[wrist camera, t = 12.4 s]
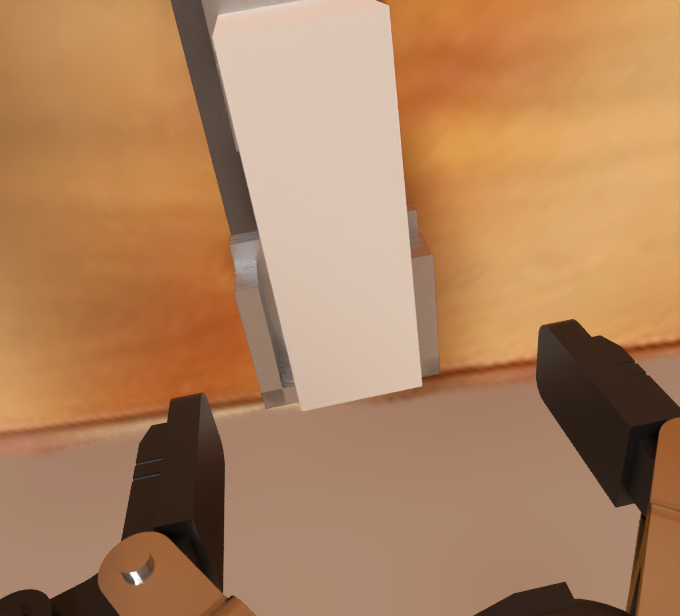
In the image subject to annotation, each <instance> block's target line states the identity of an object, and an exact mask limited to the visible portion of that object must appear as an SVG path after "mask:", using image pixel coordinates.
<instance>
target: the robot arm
mask: <svg viewBox="0 0 680 616" xmlns="http://www.w3.org/2000/svg"><path fill="white" fill-rule="evenodd" d="M536 381H537V387H538V390H539V393H540V395H541V398H542V400H543V401H544V403H545V404H546V406H547V407H548V409H549V410H550V412H551V413H552V415H553V416H554V418H555V419H556V421H557V422H558V424H559V425H560V426H561V428H562V429H563V431H564V432H565V434H566V435H567V437H568V438H569V440H570V441H571V443H572V444H573V446H574V447H575V448H576V450H577V451H578V453H579V454H580V456H581V457H582V459H583V460H584V462H585V463H586V464H587V466H588V468H589V469H590V471H591V472H592V473H593V475H594V476H595V478H596V479H597V481H598V482H599V484H600V485H601V487H602V488H603V490H604V491H605V493H606V494H607V496H608V497H609V498H610V500H611V501H612V503H613V504H614V506H615V507H620V506H625V505H629V504H633V503H635V504H636V505H637V507H638V508H639V510H640V511H641V516H640V520H639V527H638V534H637V541H636V547H635V555H634V561H633V569H632V576H631V583H630V589H629V596H628V601H627V607H626V612H625V611H623V610H621V609H618V608H616V607H613V606H610V605H607V604H604V603H600V602H596V601H590V600H584V599H574V598H573V596H572V594H571V592H570V590H569V588H568V586H567V584H566V582H562V583H558V584H553V585H549V586H545V587H540V588H536V589H531V590H527V591H523V592H518V593H514V594H512V595H510V596H509V597H507V598H505V599H503V600H501V601H499V602H498V603H496V604H494V605H492V606H490V607H488V608H487V609H485V610H483V611H481V612H479V613H478V614H476V615H474V616H680V407H679V406H678V405H677V404H676V403H675V402H674V401H673V400H672V399H671V398H670V397H669V396H668V395H667V394H666V393H665V392H664V391H663V390H662V389H661V388H660V386H658V384H657V383H656V382H655V381H654V380H653V379H652V378H651V377H650V376H647V375H646V372H645V371H644V370H643V369H642V368H641V367H640V366H639V365H638V364H635V361H634V360H633V358H632V357H631V356H630V355H629V354H628V353H627V352H626V351H625V350H624V349H623V348H622V347H621V346H619V345H617V344H615V343H614V342H612V341H610V340H608V339H606V338H604V337H602V336H595V337H591V336H590V335H589V334H588V333H587V332H586V330H585V329H584V328H583V327H582V326H581V325H580V324H579V323H578V322H577V321H576V320H574V319H571V320H566V321H561V322H556V323H551V324H546V325H542V326H541V327H540V330H539V337H538V352H537V368H536ZM133 480H134V481H133V482H132V486H131V491H130V497H129V502H128V507H127V513H126V518H125V524H124V529H123V534H122V539H121V542H120V543H118V544H117V545H116V546H115V547H114V548H113V549H112V550H111V551H110V552H109V553H108V554H107V556H106V557H105V558H104V560H103V562H102V564H101V566H100V569H99V572H98V573H97V574H96V575H94V576H93V577H91V578H90V579H88V580H86V581H85V582H83V583H81V584H79V585H77V586H75V587H73V588H71V589H69V590H67V591H65V592H63V593H62V594H59V595H57V596H55V597H54V598H51V599H49V598H48V597H47V595H46V594H44V593H43V592H41V591H38V590H33V589H29V590H28V589H27V590H21V591H17V592H14V593H12V594H9V595H8V596H5V597H4V598H2V599H0V616H256V615H255V614H254V613H253V612H252V611H251V610H250V609H249V608H248V607H247V606H246V605H245V604H244V603H243V602H242V601H241V600H240V599H238V598H237V597H235V596H231V597H230V598H227V597H226V596H224V594H223V558H224V488H225V461H224V453H223V448H222V443H221V439H220V436H219V433H218V430H217V427H216V424H215V421H214V418H213V415H212V412H211V409H210V406H209V403H208V400H207V397H206V395H205V394H204V393H198V394H193V395H188V396H183V397H178V398H173V399H171V401H170V405H169V413H168V420H167V423H162V424H157V425H152V426H151V427H150V429H149V430H148V432H147V433H146V435H145V436H144V437H143V439H142V440H141V442H140V443H139V448H138V453H137V459H136V466H135V470H134V475H133Z"/></svg>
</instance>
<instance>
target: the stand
mask: <svg viewBox="0 0 680 616" xmlns="http://www.w3.org/2000/svg"><path fill="white" fill-rule="evenodd" d="M295 1H301V0H171V3H172V7H173V11H174V15H175V19H176V23H177V27H178V30H179V34H180V38H181V42H182V46H183V50H184V54H185V58H186V62H187V65H188V69H189V73H190V77H191V81H192V85H193V89H194V93H195V96H196V100H197V104H198V108H199V112H200V116H201V120H202V124H203V127H204V131H205V135H206V139H207V143H208V147H209V151H210V155H211V158H212V162H213V166H214V170H215V174H216V178H217V182H218V186H219V189H220V193H221V197H222V201H223V205H224V209H225V213H226V217H227V220H228V224H229V228H230V232H231V236H229V246H230V250H231V254H232V258H233V261H234V294H235V297H236V301H237V305H238V309H239V312H240V316H241V320H242V323H243V327H244V331H245V334H246V338H247V342H248V345H249V349H250V353H251V357H252V360H253V364H254V368H255V371H256V375H257V379H258V382H259V386H260V390H261V393H262V397H263V401H264V405H265V408H266V409H267V408H272V407H277V406H282V405H287V404H292V403H297V402H299V398H298V394H297V390H296V386H295V382H294V378H293V373H292V369H291V365H290V361H289V357H288V352H287V348H286V344H285V340H284V336H283V332H282V327H281V323H280V319H279V315H278V311H277V306H276V302H275V298H274V294H273V290H272V285H271V281H270V277H269V273H268V269H267V265H266V260H265V256H264V252H263V248H262V244H261V239H260V235H259V231H258V227H257V223H256V219H255V214H254V210H253V206H252V202H251V198H250V193H249V189H248V185H247V181H246V177H245V172H244V168H243V164H242V160H241V156H240V152H239V147H238V143H237V139H236V135H235V131H234V126H233V122H232V118H231V114H230V110H229V106H228V101H227V97H226V93H225V89H224V85H223V80H222V76H221V72H220V68H219V64H218V59H217V55H216V51H215V47H214V43H213V39H212V36H213V32H214V28H215V25H216V21H217V17H218V15H221V14H227V13H232V12H238V11H244V10H249V9H255V8H261V7H266V6H272V5H278V4H284V3H289V2H295ZM376 1H378V0H376ZM406 206H407V217H408V229H409V240H410V251H411V263H412V274H413V286H414V297H415V308H416V320H417V331H418V343H419V354H420V366H421V377H425V376H430V375H435V374H440V365H439V347H438V329H437V311H436V293H435V274H434V256H433V253H432V251H431V250H430V248H429V247H428V245H427V244H426V242H425V240H424V239H423V237H422V236H421V234H420V232H419V231H418V221H417V210H416V208H415V207H414V205H413V204H412V202H408V203H406Z"/></svg>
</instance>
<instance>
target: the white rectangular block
mask: <svg viewBox="0 0 680 616" xmlns="http://www.w3.org/2000/svg"><path fill="white" fill-rule="evenodd" d="M212 39H213V43H214V47H215V51H216V55H217V59H218V64H219V68H220V72H221V76H222V80H223V85H224V89H225V93H226V97H227V101H228V106H229V110H230V114H231V118H232V122H233V126H234V131H235V135H236V139H237V143H238V147H239V152H240V156H241V160H242V164H243V168H244V172H245V177H246V181H247V185H248V189H249V193H250V198H251V202H252V206H253V210H254V214H255V219H256V223H257V227H258V231H259V235H260V239H261V244H262V248H263V252H264V256H265V260H266V265H267V269H268V273H269V277H270V281H271V285H272V290H273V294H274V298H275V302H276V306H277V311H278V315H279V319H280V323H281V327H282V332H283V336H284V340H285V344H286V348H287V352H288V357H289V361H290V365H291V369H292V373H293V378H294V382H295V386H296V390H297V394H298V398H299V403H300V407H301V411H307V410H312V409H316V408H321V407H326V406H331V405H335V404H340V403H345V402H350V401H355V400H359V399H364V398H369V397H374V396H378V395H383V394H388V393H393V392H397V391H402V390H407V389H412V388H416V387H421V386H422V377H421V366H420V354H419V343H418V331H417V320H416V308H415V297H414V286H413V274H412V263H411V251H410V240H409V229H408V217H407V206H406V194H405V183H404V171H403V160H402V149H401V137H400V126H399V114H398V103H397V91H396V80H395V69H394V57H393V46H392V34H391V23H390V12H389V5H386V4H384V3H381V2H379V1H376V0H301V1H295V2H289V3H284V4H278V5H272V6H266V7H261V8H255V9H249V10H244V11H238V12H232V13H227V14H221V15H218V17H217V21H216V25H215V28H214V32H213V36H212Z"/></svg>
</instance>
